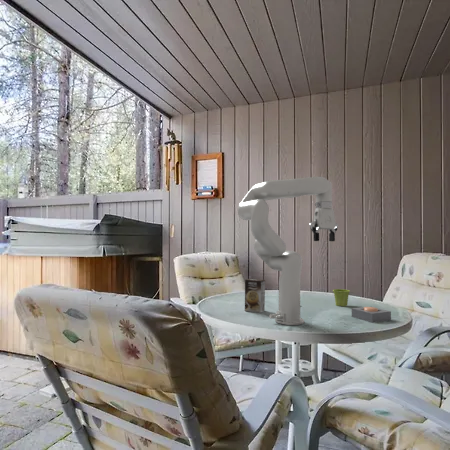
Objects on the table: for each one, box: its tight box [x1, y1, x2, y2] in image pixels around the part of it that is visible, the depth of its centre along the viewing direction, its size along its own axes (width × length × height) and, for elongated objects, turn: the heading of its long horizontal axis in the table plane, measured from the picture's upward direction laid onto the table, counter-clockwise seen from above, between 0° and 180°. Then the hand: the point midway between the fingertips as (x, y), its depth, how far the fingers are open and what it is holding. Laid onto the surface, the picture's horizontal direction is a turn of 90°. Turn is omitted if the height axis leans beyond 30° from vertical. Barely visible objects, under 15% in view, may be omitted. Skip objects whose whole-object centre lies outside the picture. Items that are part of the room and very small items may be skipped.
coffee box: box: [244, 278, 266, 314], centre depth 164 cm, size 9×6×16 cm
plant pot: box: [332, 288, 351, 307], centre depth 180 cm, size 9×9×9 cm
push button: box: [363, 306, 379, 312], centre depth 149 cm, size 6×6×3 cm
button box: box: [351, 306, 392, 323], centre depth 149 cm, size 12×12×4 cm
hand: (324, 241), depth 154 cm, fingers open, 9 cm apart
